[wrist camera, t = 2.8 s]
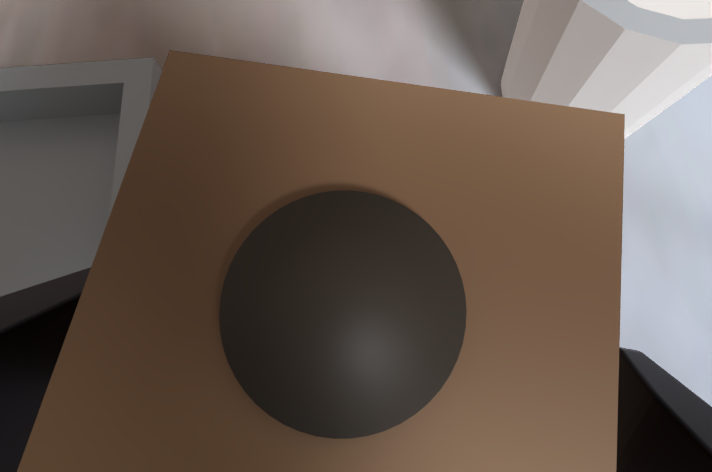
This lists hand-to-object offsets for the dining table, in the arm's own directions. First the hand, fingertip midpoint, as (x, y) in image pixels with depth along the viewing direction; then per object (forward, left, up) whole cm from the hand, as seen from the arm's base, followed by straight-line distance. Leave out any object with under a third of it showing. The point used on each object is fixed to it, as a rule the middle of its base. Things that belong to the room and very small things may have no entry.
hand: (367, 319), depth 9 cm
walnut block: (0, 0, -7) cm, 8 cm away
